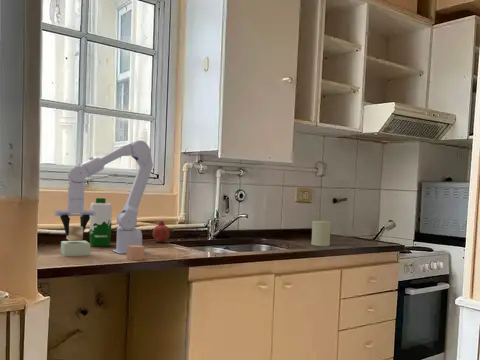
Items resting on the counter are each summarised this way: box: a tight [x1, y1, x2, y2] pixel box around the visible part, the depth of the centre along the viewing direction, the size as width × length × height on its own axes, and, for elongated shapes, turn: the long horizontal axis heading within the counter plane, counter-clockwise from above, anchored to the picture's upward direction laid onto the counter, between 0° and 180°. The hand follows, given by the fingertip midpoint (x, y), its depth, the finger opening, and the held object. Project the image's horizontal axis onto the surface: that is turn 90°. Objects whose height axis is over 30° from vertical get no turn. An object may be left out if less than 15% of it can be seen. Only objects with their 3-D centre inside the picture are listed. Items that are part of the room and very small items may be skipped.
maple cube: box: [65, 225, 84, 241], centre depth 173 cm, size 5×5×5 cm
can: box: [310, 220, 332, 247], centre depth 229 cm, size 9×9×12 cm
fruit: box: [152, 220, 171, 243], centre depth 214 cm, size 8×8×10 cm
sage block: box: [60, 240, 91, 257], centre depth 173 cm, size 9×9×4 cm
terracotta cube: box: [126, 245, 146, 261], centre depth 167 cm, size 5×5×5 cm
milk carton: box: [88, 197, 113, 248], centre depth 196 cm, size 9×9×20 cm
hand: (74, 235), depth 173 cm, fingers closed on maple cube, 5 cm apart
